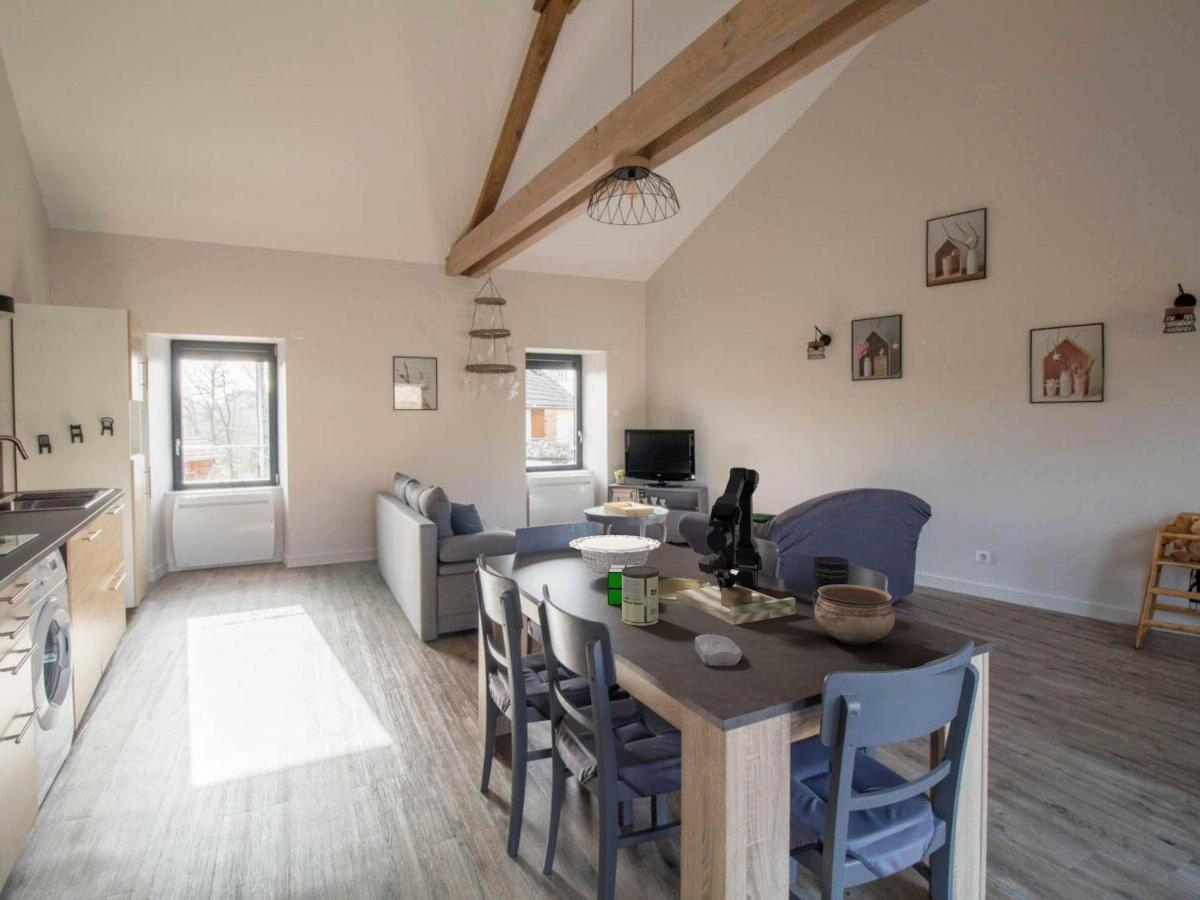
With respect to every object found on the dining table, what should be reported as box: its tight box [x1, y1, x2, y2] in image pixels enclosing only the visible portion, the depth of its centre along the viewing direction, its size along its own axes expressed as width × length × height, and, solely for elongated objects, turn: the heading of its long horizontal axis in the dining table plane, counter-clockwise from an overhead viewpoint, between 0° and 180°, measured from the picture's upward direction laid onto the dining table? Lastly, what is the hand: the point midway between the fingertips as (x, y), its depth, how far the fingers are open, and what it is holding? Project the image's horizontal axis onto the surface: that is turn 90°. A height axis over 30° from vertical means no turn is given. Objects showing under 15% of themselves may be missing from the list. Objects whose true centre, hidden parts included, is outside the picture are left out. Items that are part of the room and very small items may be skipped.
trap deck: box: [675, 583, 797, 626], centre depth 199 cm, size 22×28×4 cm
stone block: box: [694, 633, 743, 667], centre depth 157 cm, size 12×5×10 cm
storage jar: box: [812, 555, 850, 612], centre depth 195 cm, size 10×10×15 cm
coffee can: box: [621, 565, 660, 627], centre depth 185 cm, size 10×10×14 cm
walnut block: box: [721, 586, 752, 609], centre depth 190 cm, size 6×6×5 cm
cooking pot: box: [813, 584, 896, 646], centre depth 168 cm, size 25×19×12 cm
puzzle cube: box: [607, 564, 638, 606], centre depth 205 cm, size 10×10×10 cm
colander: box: [568, 534, 662, 577], centre depth 232 cm, size 32×32×13 cm
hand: (724, 598), depth 195 cm, fingers closed
